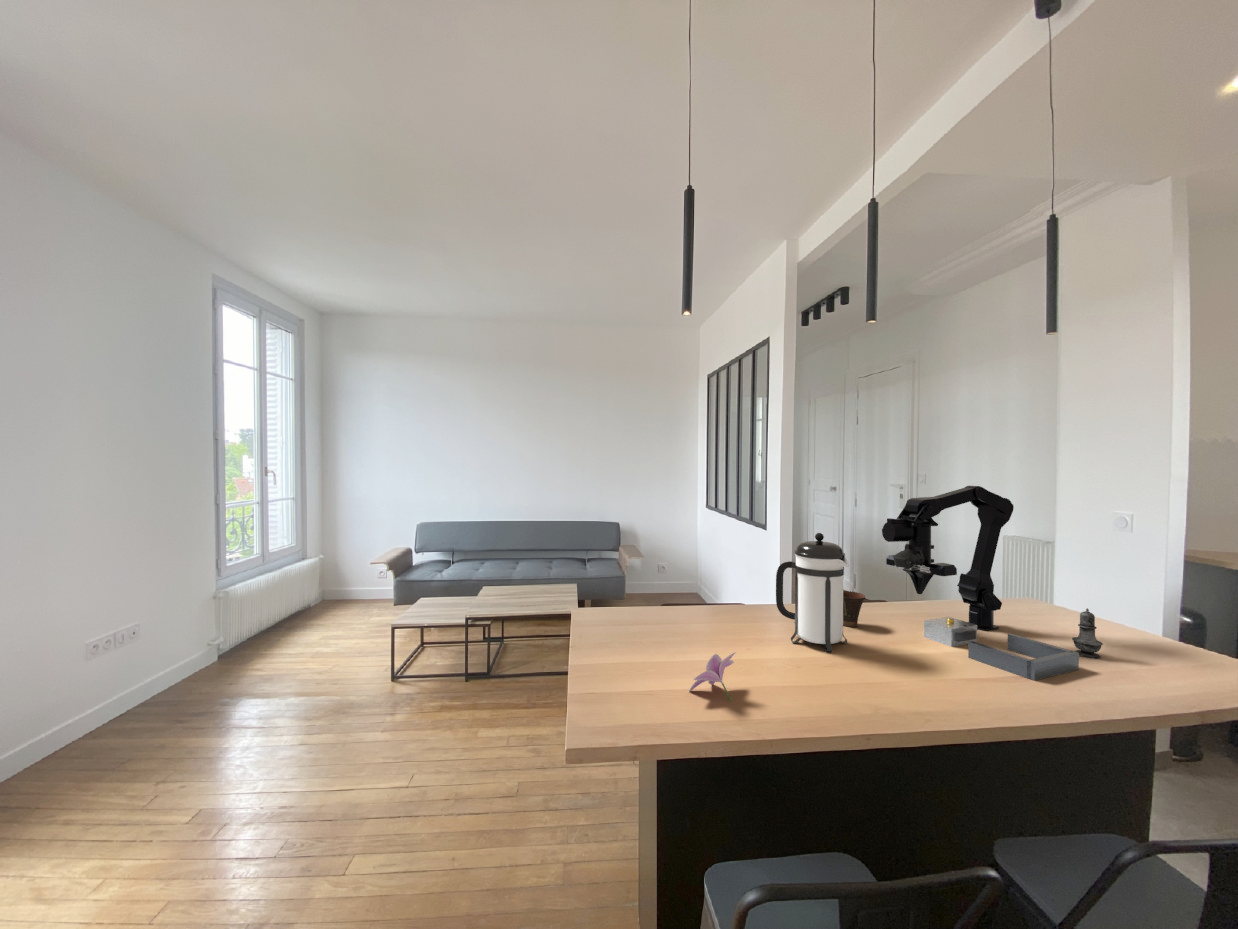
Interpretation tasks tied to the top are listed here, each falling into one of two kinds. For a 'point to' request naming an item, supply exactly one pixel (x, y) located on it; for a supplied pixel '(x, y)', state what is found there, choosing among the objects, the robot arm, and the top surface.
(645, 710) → the top surface
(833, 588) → the coffee press
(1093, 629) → the salt shaker
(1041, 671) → the frame
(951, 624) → the drawer
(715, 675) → the lily
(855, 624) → the cup
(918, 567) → the robot arm
